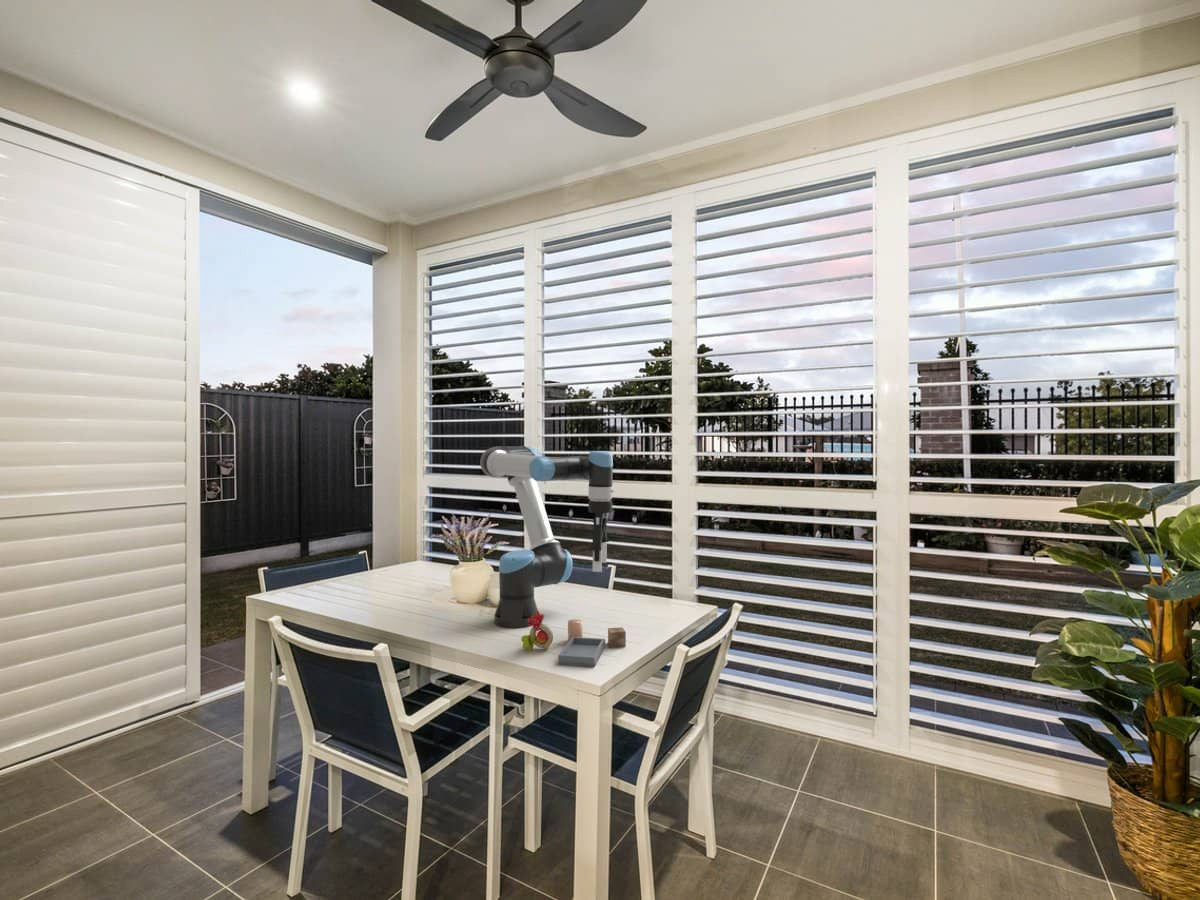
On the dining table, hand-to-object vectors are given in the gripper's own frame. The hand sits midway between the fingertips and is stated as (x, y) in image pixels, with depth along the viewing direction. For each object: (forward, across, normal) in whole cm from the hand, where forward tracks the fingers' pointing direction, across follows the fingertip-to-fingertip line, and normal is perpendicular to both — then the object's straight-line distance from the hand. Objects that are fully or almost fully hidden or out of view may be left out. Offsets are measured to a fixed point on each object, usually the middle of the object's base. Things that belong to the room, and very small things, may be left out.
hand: (599, 566), depth 188 cm
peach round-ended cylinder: (+21, -8, +6) cm, 24 cm away
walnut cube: (+21, -10, -7) cm, 24 cm away
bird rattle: (+21, -17, +16) cm, 31 cm away
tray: (+21, -21, +2) cm, 29 cm away
